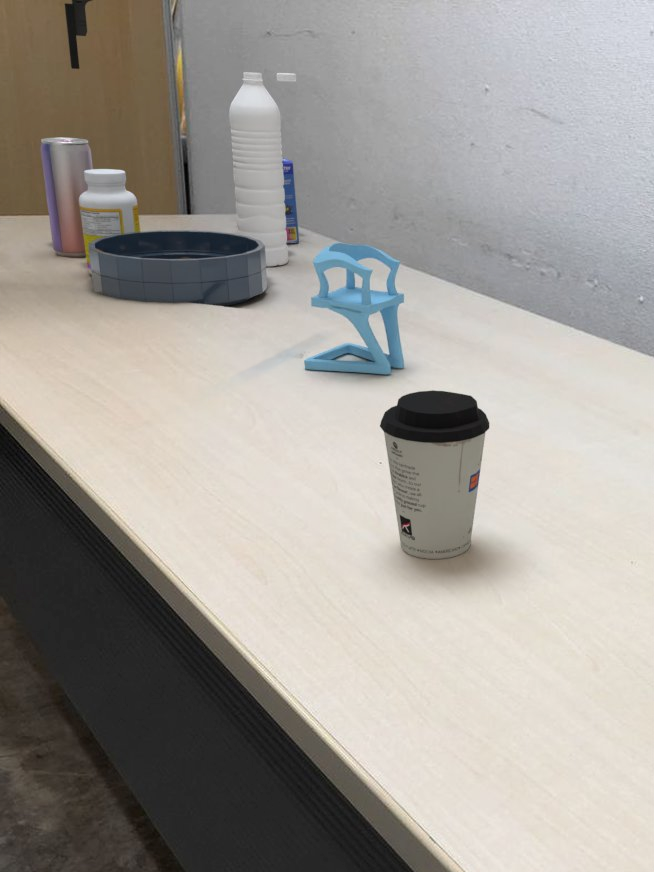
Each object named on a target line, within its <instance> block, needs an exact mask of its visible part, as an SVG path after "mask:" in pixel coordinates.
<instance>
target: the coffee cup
mask: <svg viewBox="0 0 654 872" xmlns="http://www.w3.org/2000/svg"><path fill="white" fill-rule="evenodd" d="M379 428H380V429H381V431H383V434H384V441H385V448H386V453H387V461H388V467H389V474H390V481H391V482H390V483H391V487H392V489H391V490H392V495H393V501H394V509H395V515H396V522H397V529H398V535H399V541H400V547H401V548H402V551H403V552H405V553H407V554H408V555H410V556H413V557H416V558H420V559H427V560H433V559H434V560H441V559H448V558H453V557H456V556H460V555H462V554H463V553H465V552H467V551H468V549H469V548H470V547H471V542H472V533H473V526H474V519H475V511H476V506H477V505H476V504H477V497H478V491H479V483H480V477H481V476H480V475H481V468H482V460H483V454H484V453H483V452H484V447H485V441H486V440H485V439H486V433H487V431H488V430H489V429H490V420H489V419H488V416H487V413H485V411H483V410H482V409H481V408H479V406H478V401H477V400H476V398H474V396H472V395H469V394H464V393H458V392H452V391H445V390H423V391H415V392H410V393H406V394H404V395H402V396H400V397H399V398H398V400H397V404H396V405H394V406H391V407H390V408H388V409H387V410H386V411H385V412H384V413H383V416H382V418H381V420H380V424H379Z"/></svg>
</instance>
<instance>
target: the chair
mask: <svg viewBox="0 0 654 872" xmlns="http://www.w3.org/2000/svg"><path fill="white" fill-rule="evenodd" d="M365 259H374V260H376V261H378V262H380V263H381V264H383V265H385V266H386V267H388V268H389V269H390V271H389V274H388V276H387V279H386V290H387V291H380V290H373V289H371V277H372V273H373V270H374V269H371V268H369V267H366V266H365V265H363V264H362V263H361V262H359V261H361V260H365ZM401 262H402V261H401V260H398V259H395V258H393V257H392V256H390V255H388V254H387V253H386V252H385V251H383V250H380V249H378V248H376V247H374V246H370V245H366V244H349V243H344V242H334V243H332V244H330V245H327V246H326V247H324V248H323V249H322V250H321V251H320V252H319V253H318V254H317V255H316V256H315V257H314V259H313V260H312V263H313V266H314V269H315V272H316V275H317V278H318V281H319V291H318V295H313V296H310V300H311V301H310V303H311V307H314V308H321V309H328V310H329V311H332V312H335V313H336V314H339V315H341V316H342V317H344V318H346V319H347V320H348V322H350V323H351V324H352V325H353V327H354V328H355V329H356V331H357V332H358V334H359V336H360V337H361V339H362V340H363V342H364V345H366V346H363V345H360V344H356V343H352V342H345V343H343V344H340V345H337V346H335V347H332V348H330V349H328V350H325V351H323V352H320V353H317V354H315V355H312V356H310V357H308V358H305V359H303V364H304V369H305V370H310V371H311V370H313V371H328V372H343V373H344V372H346V373H364V374H375V375H391V374H392V368H393V369H404V368H405V361H404V354H403V349H402V343H401V342H402V341H401V336H400V329H399V319H398V309H399V306H400V305H401V304H404V303H405V293H401V292H398V291H397V288H396V278H397V277H396V276H397V274H398V270H399V268H400V264H401ZM332 268H333V269H334V268H341V269H345V270H346V271H345V273H346V280H345V282H346V283H345V286H343V287H340V288H338V289H335V290H334V291H330V285H329V281H328V278H327V276H326V274H325V272H326V271H327V270H329V269H332ZM355 275H357V276H359V277H360V278H361V279H362V283H361V287H360V286H356V277H355ZM376 313H380V316H381V318H382V321H383V325H384V326H383V327H384V329H385V335H386V341H387V347H388V348H387V349H388V353H385V352H384V351H383V349H382V347H381V345H380V344H379V342H378V340H377V338H376V336H375V334H374V331H373V329H372V327H371V325H370V322H369V318H370V316H371V315H374V314H376ZM345 354H350V355H351V354H352V355H355V356H357V357H360V358H363V359H366V360H368V361H359V360H340V359H335V358H338V357H340V356H344V355H345Z"/></svg>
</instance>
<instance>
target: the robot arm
mask: <svg viewBox="0 0 654 872" xmlns="http://www.w3.org/2000/svg"><path fill="white" fill-rule="evenodd" d="M92 1H93V0H71V3H69V2H68V3H67V2H64V11H65V12H64V13H65V21H66V22H65V23H66V31H67V40H68V51H69V59H70V60H69V61H70V68H71V69H74V70H80V60H79V51H78V39H77V37H86V36H87V34H88V24H87V14H86V5H87V3H89V2H92Z"/></svg>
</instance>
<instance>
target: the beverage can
mask: <svg viewBox="0 0 654 872" xmlns="http://www.w3.org/2000/svg"><path fill="white" fill-rule="evenodd" d="M40 142H41V144H40V157H41V163H42V164H41V165H42V172H43V181H44V188H45V195H46V204H47V211H48V218H49V227H50V234H51V241H52V242H51V243H52V248H53V251H54V252H55V254H56V255H58V256H60V257H66V258H86V252H85V244H84V236H83V228H82V221H81V213H80V206H79V197H80V195H81V194H82V193H84V192H85V191H87V190H88V184H87V183H86V181H85V177H84V171H85V170H91V169H94V167H93V166H94V165H93V159H92V158H93V157H92V149H91V147H90V145H89V140H88V139H85V138H79V137H78V138H76V137H45V138H41V139H40Z"/></svg>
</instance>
